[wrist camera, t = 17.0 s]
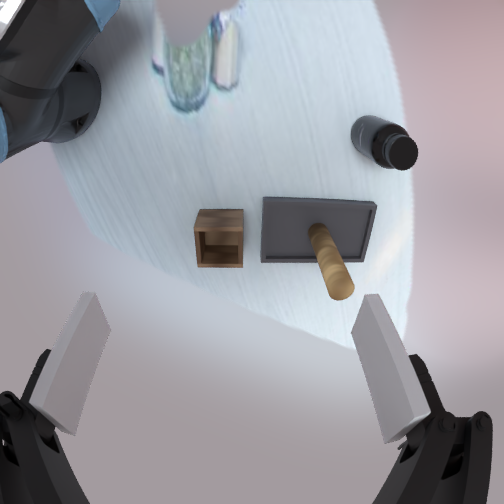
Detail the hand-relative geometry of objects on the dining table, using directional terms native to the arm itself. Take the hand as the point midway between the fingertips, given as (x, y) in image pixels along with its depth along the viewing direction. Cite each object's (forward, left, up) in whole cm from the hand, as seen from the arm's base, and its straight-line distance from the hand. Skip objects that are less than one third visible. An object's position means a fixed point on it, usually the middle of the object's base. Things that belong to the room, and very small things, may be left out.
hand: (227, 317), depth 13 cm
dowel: (+14, -14, -34) cm, 39 cm away
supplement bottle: (+21, +4, -35) cm, 41 cm away
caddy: (-3, -14, -35) cm, 38 cm away
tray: (+14, -14, -35) cm, 40 cm away
